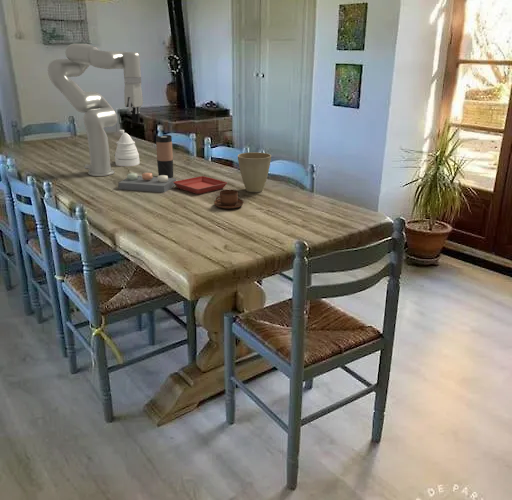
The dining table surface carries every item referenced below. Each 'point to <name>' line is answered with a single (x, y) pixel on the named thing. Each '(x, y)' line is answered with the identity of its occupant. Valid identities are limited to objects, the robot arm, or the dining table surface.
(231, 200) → the cup and saucer
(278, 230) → the dining table surface
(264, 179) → the plant pot
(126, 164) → the honey pot
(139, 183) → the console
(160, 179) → the cream button
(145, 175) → the terracotta button
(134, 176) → the sage button
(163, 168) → the travel mug
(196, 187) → the plant saucer
